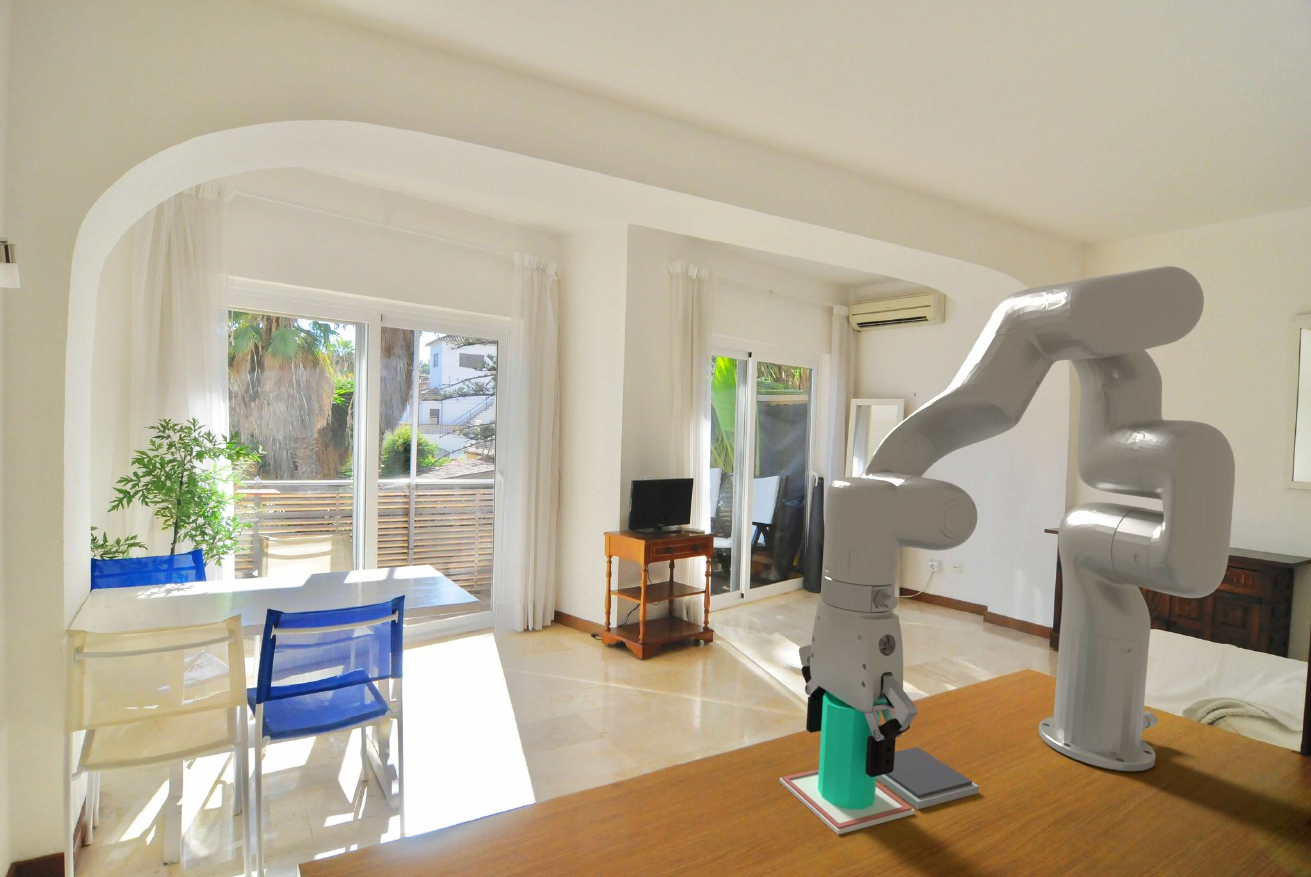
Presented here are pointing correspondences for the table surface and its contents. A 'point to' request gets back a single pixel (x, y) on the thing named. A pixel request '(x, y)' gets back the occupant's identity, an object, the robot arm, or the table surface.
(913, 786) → the ink pad
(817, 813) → the marked card
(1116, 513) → the robot arm
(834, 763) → the candle
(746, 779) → the table surface
